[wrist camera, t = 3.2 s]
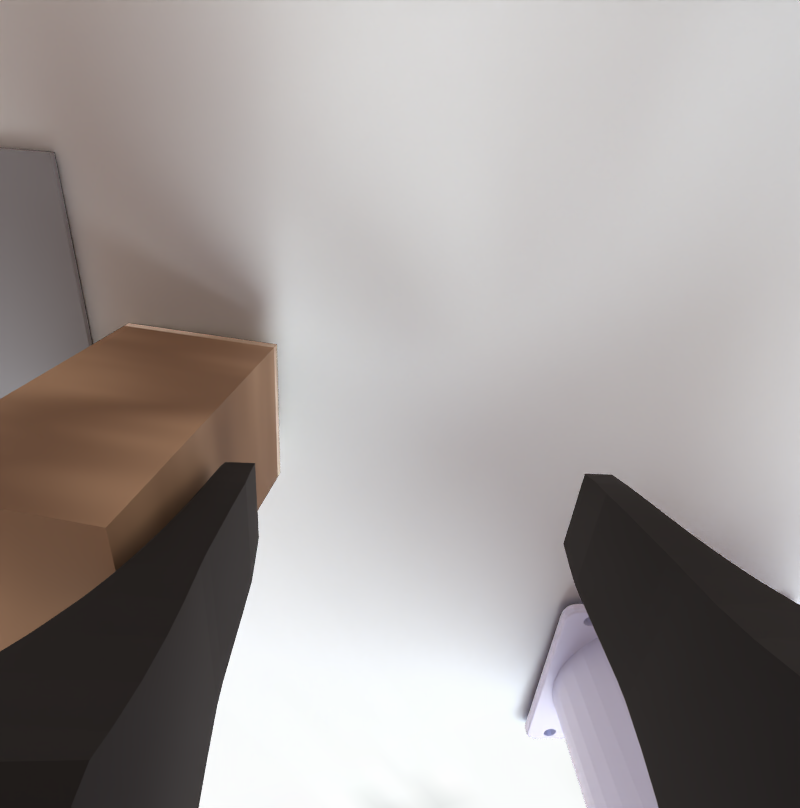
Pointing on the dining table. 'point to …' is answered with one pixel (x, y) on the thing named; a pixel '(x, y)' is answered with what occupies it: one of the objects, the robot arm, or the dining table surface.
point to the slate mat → (36, 271)
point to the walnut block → (121, 456)
